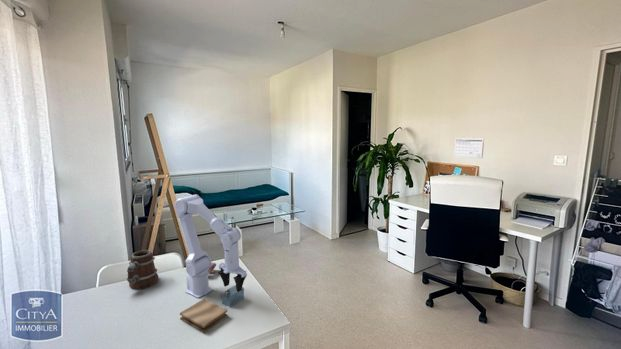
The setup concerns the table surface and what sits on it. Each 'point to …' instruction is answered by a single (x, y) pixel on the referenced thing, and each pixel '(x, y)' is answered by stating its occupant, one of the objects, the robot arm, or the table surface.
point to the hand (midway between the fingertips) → (233, 288)
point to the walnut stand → (203, 315)
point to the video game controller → (211, 267)
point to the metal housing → (232, 296)
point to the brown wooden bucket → (142, 270)
